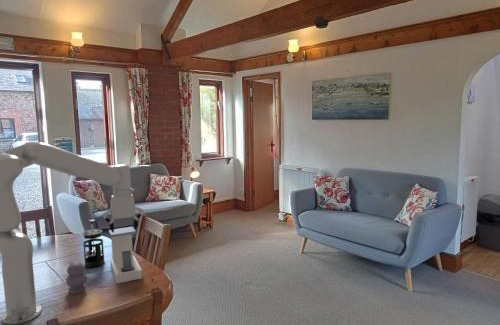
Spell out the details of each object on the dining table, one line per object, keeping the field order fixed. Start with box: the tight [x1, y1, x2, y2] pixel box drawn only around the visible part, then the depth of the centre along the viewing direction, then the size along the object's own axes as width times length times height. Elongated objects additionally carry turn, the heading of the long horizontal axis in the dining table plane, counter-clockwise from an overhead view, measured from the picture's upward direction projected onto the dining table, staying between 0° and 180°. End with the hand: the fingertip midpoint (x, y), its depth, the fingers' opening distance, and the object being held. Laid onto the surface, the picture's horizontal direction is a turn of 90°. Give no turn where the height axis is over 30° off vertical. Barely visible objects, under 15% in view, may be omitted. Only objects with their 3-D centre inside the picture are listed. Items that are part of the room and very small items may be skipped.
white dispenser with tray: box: [108, 226, 143, 284], centre depth 170 cm, size 19×11×19 cm, turn 27°
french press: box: [82, 218, 106, 270], centre depth 178 cm, size 12×9×23 cm
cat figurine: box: [65, 261, 88, 295], centre depth 154 cm, size 8×8×12 cm
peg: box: [122, 250, 132, 272], centre depth 165 cm, size 3×3×12 cm
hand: (124, 230), depth 163 cm, fingers open, 9 cm apart
